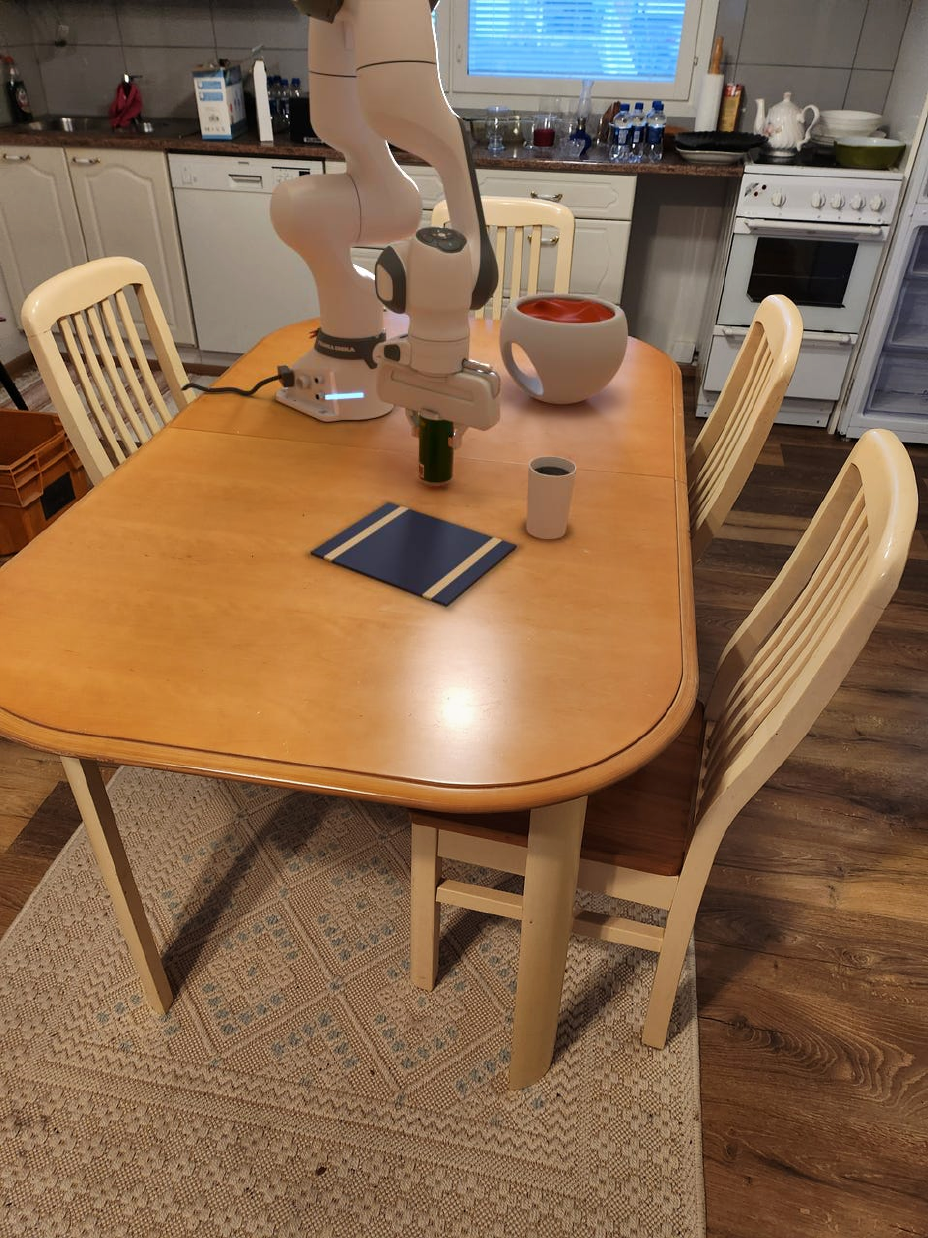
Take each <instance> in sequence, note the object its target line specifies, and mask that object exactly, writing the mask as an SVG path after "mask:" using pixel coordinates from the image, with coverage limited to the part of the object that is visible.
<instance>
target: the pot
mask: <svg viewBox="0 0 928 1238" xmlns="http://www.w3.org/2000/svg"><path fill="white" fill-rule="evenodd" d="M628 331H629V329H628V322H627V317H626V314H625V312H624V310H623V309H622V308H621V307H620V306H618V305H616V304H615V303H613V302H611V301H608V300H606V299H605V300H604V299H602V298H597V297H593V296H588V295H583V294H575V293H561V292H556V293H555V292H548V293H547V292H546V293H534V294H528V295H523V296H520V297H517V298H515V299H513V300H512V301H510V302H509V303H508V305H507V306H506V309H505V311H504V313H503V316H502V319H501V322H500V327H499V338H498V339H499V341H498V342H499V343H498V344H499V350H500V356H501V360H502V362H503V366H504V368H505V370H506V372H507V373H508V375H509V376H510V378H511V379H512V380H513V382H514V383H515V384H516V385H517V386H518V387H519V388H520V389H521V390H522V391H523V392H524V393H526V394H527V395H529V396H530V397H532V398H534V399H536V400H538V401H540V402H544V403H548V404H554V405H570V404H575V403H579V402H582V401H584V400H587V399H589V398H591V397H593V396H595V395H596V394H598V393H599V392H601V391H602V390H603V389H604V388H606V387H607V385H609V384H610V382H611V381H612V380H613V379H614V378H615V376H616V375H617V373H618V372H619V370H620V368H621V366H622V364H623V361H624V359H625V356H626V352H627V348H628V342H629V341H628V340H629V332H628ZM512 344H515V345H517V346H519V347H520V349H522V351H523V352H524V353H525V355H526V357H527V358H528V359H529V361H530V362H531V364H532V366H533V368H534V370H535V371H536V375H538V377H531V376H529V375H527V374H525V373H524V372H523V371H522V370H521V369H520V368H519V367H518V365H517V363H516V361H515V360H514V356H513V348H512V347H513V345H512Z"/></svg>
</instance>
